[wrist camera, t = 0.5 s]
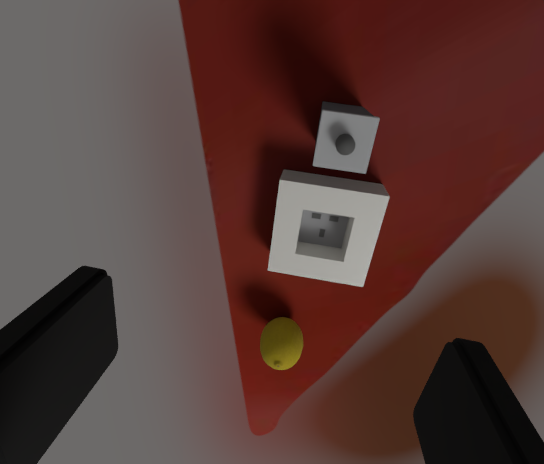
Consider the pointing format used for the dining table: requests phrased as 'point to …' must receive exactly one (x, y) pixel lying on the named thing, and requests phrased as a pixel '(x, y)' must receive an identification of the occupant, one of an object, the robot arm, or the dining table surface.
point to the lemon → (281, 343)
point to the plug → (344, 137)
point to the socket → (326, 227)
